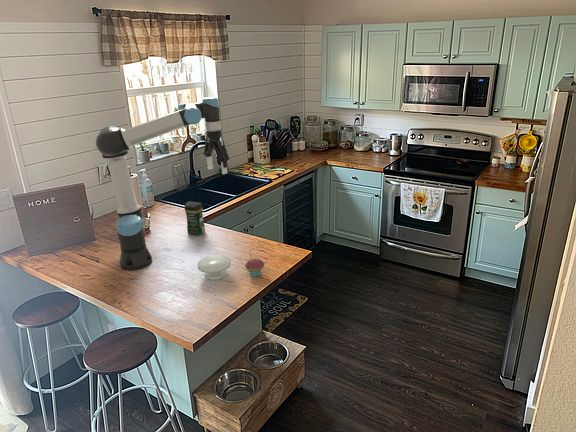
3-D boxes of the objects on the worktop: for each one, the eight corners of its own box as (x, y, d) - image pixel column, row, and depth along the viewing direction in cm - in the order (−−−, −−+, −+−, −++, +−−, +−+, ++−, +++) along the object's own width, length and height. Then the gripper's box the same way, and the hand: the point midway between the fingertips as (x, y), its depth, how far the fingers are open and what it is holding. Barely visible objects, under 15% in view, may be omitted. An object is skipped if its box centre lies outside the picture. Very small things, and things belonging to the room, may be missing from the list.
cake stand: (209, 286, 191) (207, 273, 189) (193, 274, 202) (191, 261, 200) (238, 275, 200) (237, 262, 198) (221, 264, 211) (219, 251, 209)
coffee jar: (185, 234, 246) (181, 203, 239) (193, 229, 253) (189, 199, 246) (200, 236, 242) (196, 205, 236) (207, 231, 249) (204, 200, 242)
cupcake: (247, 279, 196) (246, 255, 191) (244, 271, 203) (242, 247, 199) (266, 276, 198) (265, 252, 193) (262, 268, 205) (261, 245, 201)
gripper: (234, 131, 209) (237, 174, 217) (206, 126, 227) (210, 165, 235) (220, 133, 205) (224, 177, 213) (194, 128, 223) (198, 168, 230)
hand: (217, 171), depth 224 cm, fingers open, 13 cm apart
